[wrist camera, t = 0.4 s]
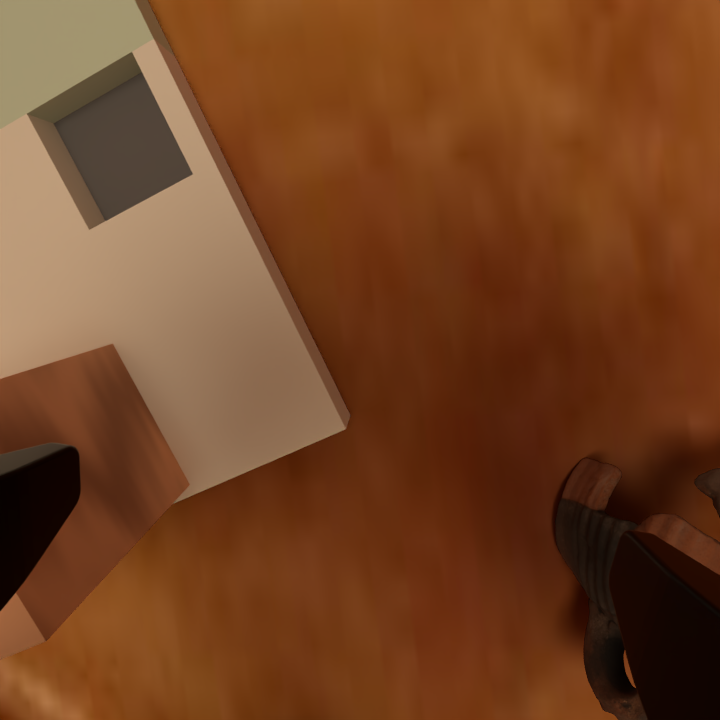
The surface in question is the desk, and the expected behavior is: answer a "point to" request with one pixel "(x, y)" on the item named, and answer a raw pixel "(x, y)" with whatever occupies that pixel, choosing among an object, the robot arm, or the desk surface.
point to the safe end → (68, 53)
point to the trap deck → (157, 275)
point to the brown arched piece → (593, 563)
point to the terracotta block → (85, 481)
